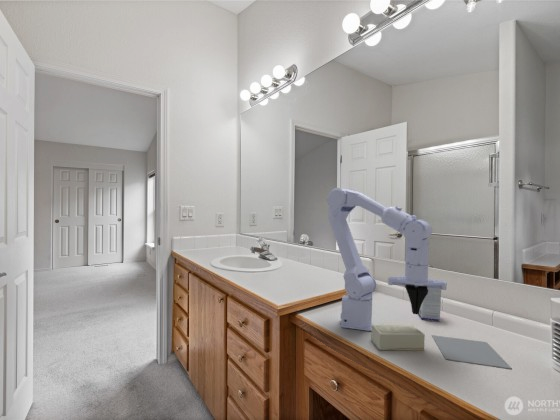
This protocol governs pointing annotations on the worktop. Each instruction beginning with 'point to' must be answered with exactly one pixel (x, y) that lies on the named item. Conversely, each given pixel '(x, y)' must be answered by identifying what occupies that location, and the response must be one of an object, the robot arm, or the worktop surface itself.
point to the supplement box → (431, 305)
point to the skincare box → (397, 337)
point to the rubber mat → (469, 351)
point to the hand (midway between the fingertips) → (415, 312)
